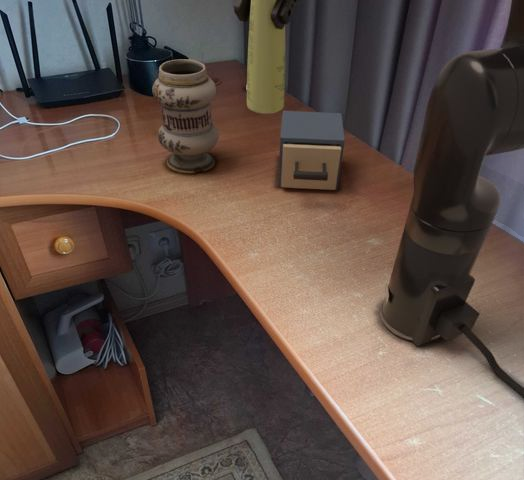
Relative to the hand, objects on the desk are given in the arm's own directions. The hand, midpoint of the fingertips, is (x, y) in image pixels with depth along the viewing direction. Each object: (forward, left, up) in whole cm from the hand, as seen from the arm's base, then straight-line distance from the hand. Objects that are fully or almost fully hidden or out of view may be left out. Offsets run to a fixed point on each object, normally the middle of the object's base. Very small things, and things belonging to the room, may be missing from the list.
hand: (258, 19), depth 53 cm
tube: (+1, -2, -10) cm, 10 cm away
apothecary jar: (+34, -2, -32) cm, 47 cm away
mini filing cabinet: (+20, -22, -32) cm, 44 cm away
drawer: (+16, -19, -31) cm, 40 cm away
